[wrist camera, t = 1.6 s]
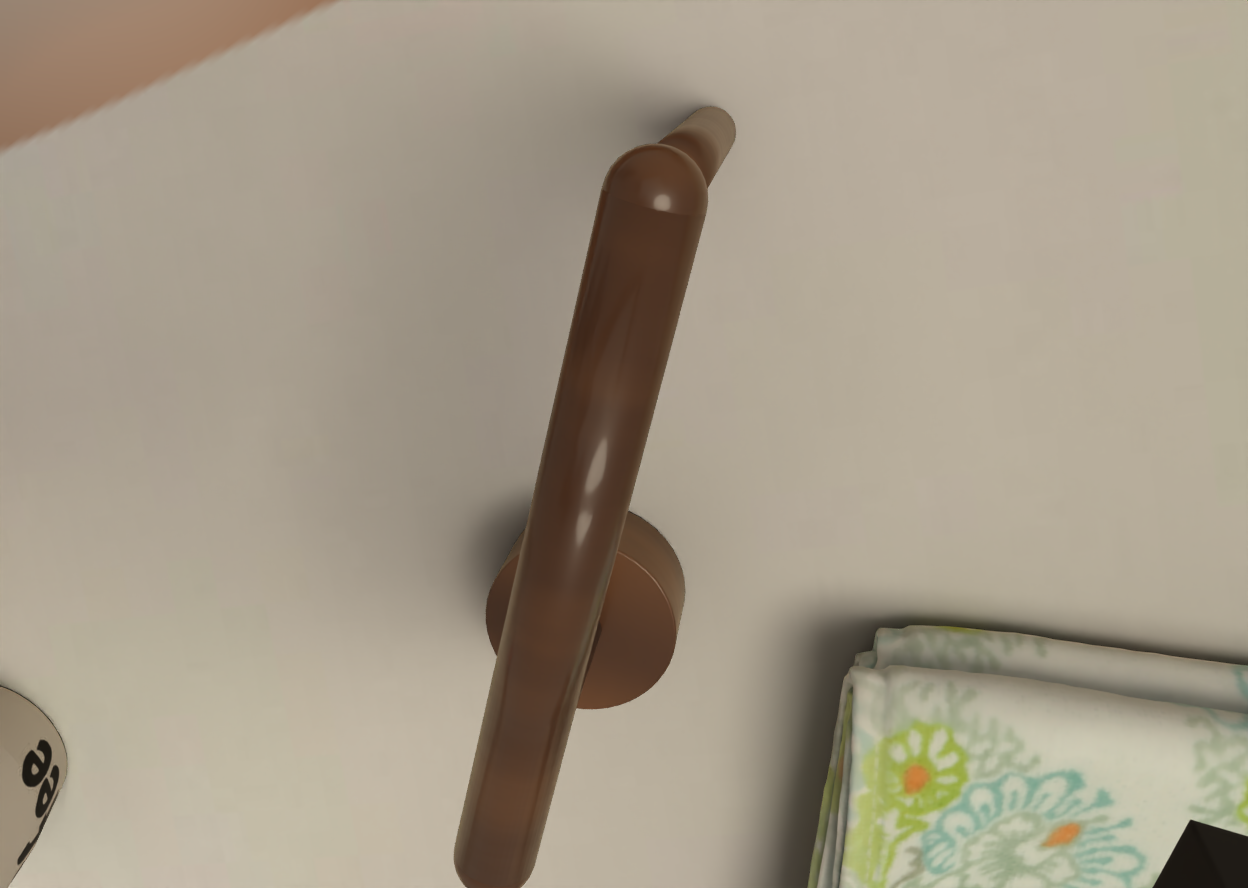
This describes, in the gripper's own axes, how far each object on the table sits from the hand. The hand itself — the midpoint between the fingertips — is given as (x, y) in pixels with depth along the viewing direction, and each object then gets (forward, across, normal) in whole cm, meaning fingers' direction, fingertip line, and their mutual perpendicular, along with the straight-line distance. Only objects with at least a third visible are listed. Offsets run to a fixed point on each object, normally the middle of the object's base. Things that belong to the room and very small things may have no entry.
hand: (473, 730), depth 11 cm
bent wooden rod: (+19, 0, -3) cm, 19 cm away
